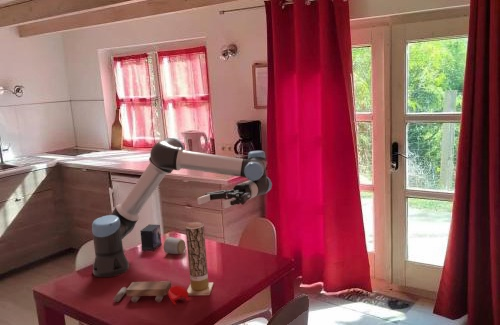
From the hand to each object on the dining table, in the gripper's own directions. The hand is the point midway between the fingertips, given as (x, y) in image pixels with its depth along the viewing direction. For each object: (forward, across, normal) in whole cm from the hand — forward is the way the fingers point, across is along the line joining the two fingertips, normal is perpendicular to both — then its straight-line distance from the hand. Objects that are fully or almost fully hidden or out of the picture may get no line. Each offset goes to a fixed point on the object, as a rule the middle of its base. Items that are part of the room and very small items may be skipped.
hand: (210, 203), depth 182 cm
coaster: (+10, 0, -32) cm, 33 cm away
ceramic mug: (-15, +39, -32) cm, 53 cm away
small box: (-14, +55, -32) cm, 65 cm away
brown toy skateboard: (+25, +14, -32) cm, 43 cm away
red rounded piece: (+21, 0, -32) cm, 38 cm away
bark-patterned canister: (+10, 0, -31) cm, 33 cm away
